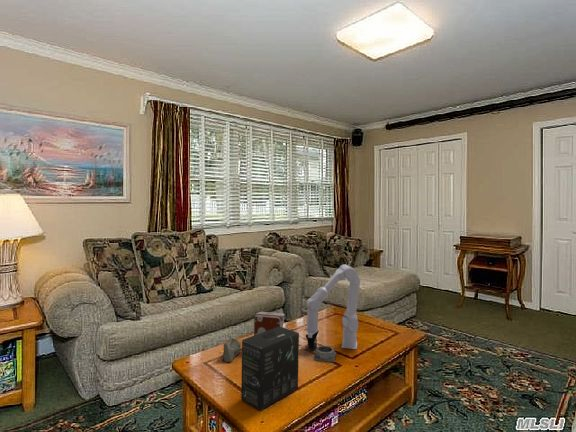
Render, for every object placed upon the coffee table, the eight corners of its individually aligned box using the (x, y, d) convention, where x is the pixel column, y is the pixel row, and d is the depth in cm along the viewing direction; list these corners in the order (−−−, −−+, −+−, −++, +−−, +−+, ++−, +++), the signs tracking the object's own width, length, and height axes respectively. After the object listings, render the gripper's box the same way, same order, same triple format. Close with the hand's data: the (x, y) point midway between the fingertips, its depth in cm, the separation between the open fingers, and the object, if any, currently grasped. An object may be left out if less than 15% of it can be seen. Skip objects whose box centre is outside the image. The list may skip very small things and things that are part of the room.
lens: (308, 346, 189) (308, 337, 189) (317, 347, 188) (317, 338, 188) (306, 350, 184) (306, 340, 184) (316, 351, 183) (316, 341, 183)
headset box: (278, 378, 155) (279, 320, 154) (299, 388, 147) (300, 327, 146) (239, 399, 138) (240, 335, 137) (261, 412, 130) (261, 344, 129)
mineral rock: (238, 349, 184) (238, 331, 183) (249, 357, 175) (249, 337, 175) (216, 356, 176) (216, 336, 175) (226, 364, 167) (226, 343, 167)
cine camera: (289, 357, 176) (290, 318, 175) (252, 353, 179) (252, 315, 178) (293, 349, 185) (293, 312, 184) (257, 346, 188) (257, 309, 187)
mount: (316, 351, 182) (316, 344, 182) (336, 353, 180) (336, 346, 180) (313, 360, 173) (313, 352, 173) (333, 362, 170) (333, 354, 170)
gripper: (307, 315, 193) (307, 339, 194) (302, 324, 179) (302, 350, 180) (320, 317, 192) (319, 341, 192) (316, 326, 178) (315, 352, 178)
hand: (312, 346), depth 186 cm, fingers closed on lens, 5 cm apart
